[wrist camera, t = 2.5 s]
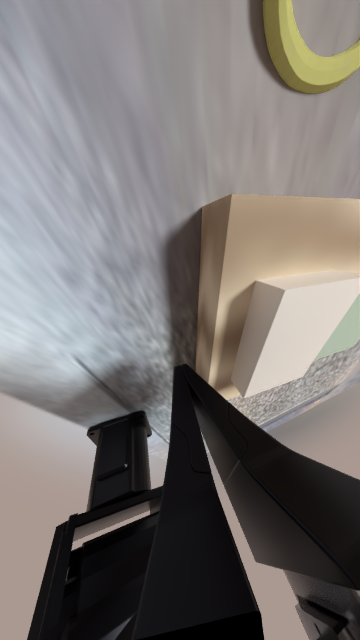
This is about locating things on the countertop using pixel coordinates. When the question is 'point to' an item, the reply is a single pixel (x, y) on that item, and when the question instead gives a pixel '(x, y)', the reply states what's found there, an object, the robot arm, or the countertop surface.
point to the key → (303, 53)
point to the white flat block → (290, 326)
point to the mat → (344, 332)
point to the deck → (262, 263)
